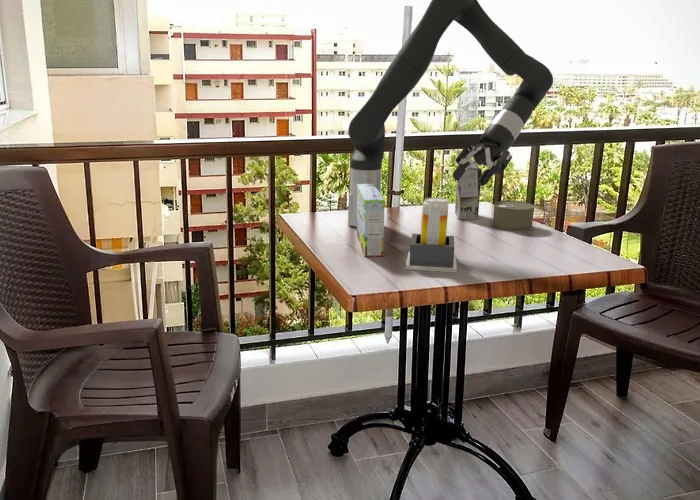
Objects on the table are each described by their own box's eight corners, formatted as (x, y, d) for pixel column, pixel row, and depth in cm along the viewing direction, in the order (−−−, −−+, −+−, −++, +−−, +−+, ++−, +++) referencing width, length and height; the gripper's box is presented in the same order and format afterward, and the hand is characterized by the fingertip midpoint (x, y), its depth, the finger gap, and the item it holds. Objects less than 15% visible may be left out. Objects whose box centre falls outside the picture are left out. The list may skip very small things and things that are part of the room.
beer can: (443, 256, 165) (447, 197, 161) (444, 263, 159) (449, 202, 155) (419, 255, 165) (423, 196, 161) (419, 262, 160) (423, 201, 155)
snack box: (354, 235, 187) (356, 183, 183) (374, 235, 187) (376, 183, 183) (362, 257, 167) (364, 199, 162) (384, 257, 167) (386, 199, 163)
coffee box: (478, 220, 208) (482, 169, 204) (458, 219, 208) (461, 169, 204) (473, 213, 217) (477, 164, 212) (454, 213, 217) (457, 164, 212)
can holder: (405, 269, 158) (406, 245, 156) (408, 255, 169) (409, 232, 167) (456, 272, 156) (457, 248, 154) (455, 258, 167) (457, 235, 166)
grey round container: (540, 230, 198) (543, 207, 196) (507, 233, 193) (509, 210, 191) (516, 221, 208) (518, 199, 206) (484, 223, 204) (486, 202, 202)
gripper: (474, 119, 170) (440, 167, 166) (518, 124, 159) (482, 175, 156) (487, 139, 174) (453, 186, 171) (530, 145, 164) (495, 195, 160)
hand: (467, 181), depth 163 cm, fingers open, 8 cm apart
